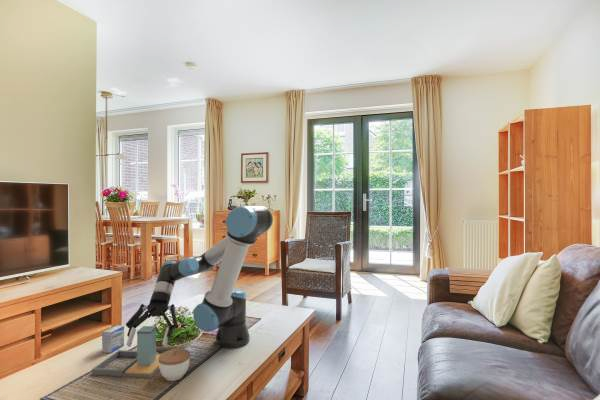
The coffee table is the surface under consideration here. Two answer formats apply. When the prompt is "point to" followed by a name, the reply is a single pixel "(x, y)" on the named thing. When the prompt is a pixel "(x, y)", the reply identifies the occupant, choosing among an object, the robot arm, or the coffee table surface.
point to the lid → (143, 369)
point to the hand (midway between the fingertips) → (146, 345)
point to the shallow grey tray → (111, 372)
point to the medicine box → (113, 339)
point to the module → (146, 346)
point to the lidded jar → (174, 363)
